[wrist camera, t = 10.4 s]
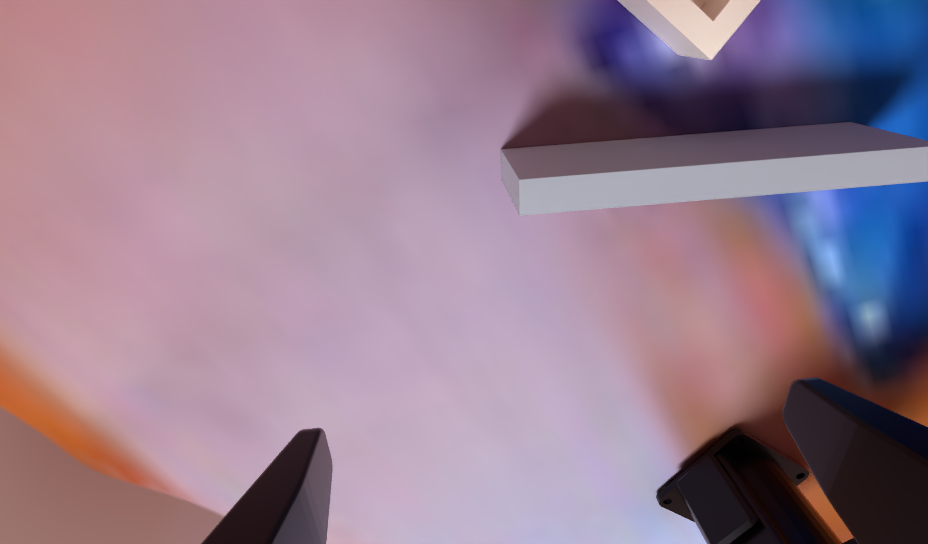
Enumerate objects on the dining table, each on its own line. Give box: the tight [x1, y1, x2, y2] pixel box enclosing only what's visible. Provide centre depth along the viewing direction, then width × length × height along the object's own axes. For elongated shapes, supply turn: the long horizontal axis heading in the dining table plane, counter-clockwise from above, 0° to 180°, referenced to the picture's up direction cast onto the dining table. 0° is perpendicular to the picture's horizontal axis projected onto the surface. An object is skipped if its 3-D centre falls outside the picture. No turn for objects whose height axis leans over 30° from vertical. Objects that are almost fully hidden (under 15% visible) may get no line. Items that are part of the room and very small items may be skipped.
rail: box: [501, 122, 928, 216], centre depth 18 cm, size 14×1×4 cm, turn 93°
